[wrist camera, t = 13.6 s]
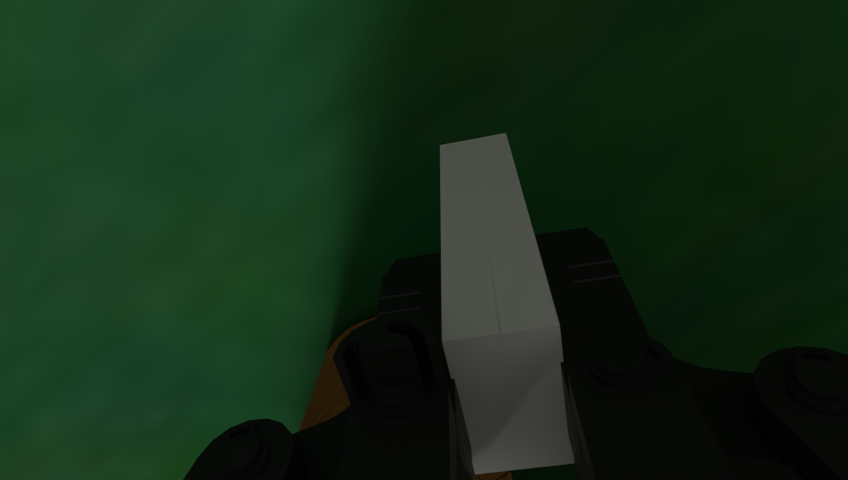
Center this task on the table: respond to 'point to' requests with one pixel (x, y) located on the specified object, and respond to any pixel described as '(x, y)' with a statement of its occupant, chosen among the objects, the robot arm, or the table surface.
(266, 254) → the table surface
